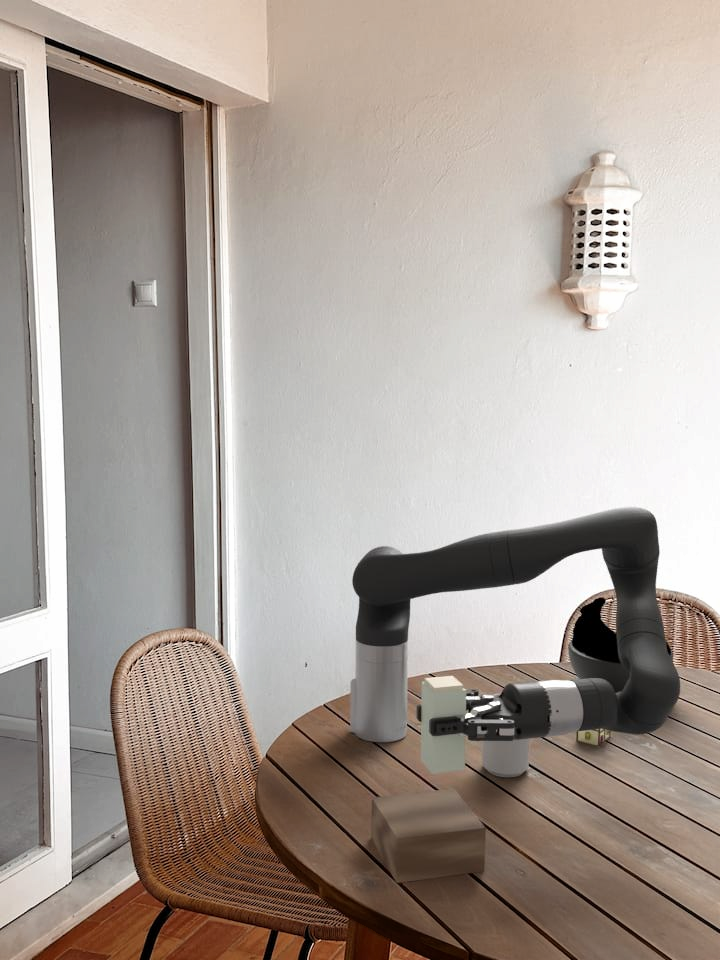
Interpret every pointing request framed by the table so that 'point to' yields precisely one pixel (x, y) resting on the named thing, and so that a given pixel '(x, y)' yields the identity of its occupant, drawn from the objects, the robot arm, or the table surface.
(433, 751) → the sage tin
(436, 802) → the walnut block
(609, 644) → the coal bowl
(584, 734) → the toy house
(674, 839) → the table surface
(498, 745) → the can
